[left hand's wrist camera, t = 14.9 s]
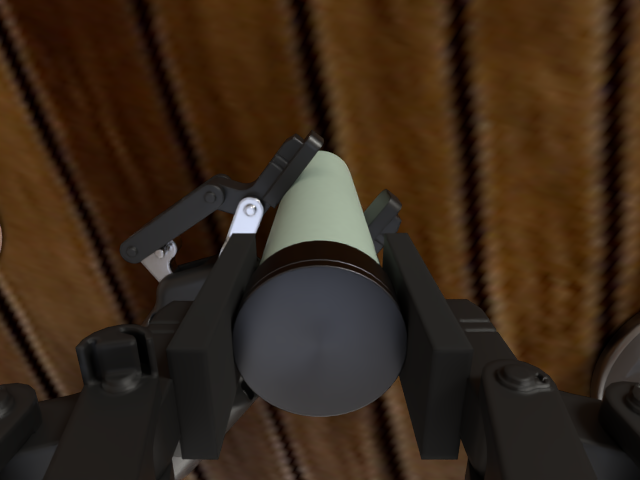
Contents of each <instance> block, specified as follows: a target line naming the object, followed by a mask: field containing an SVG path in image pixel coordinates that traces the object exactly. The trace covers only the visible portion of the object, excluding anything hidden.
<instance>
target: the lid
mask: <svg viewBox="0 0 640 480" xmlns="http://www.w3.org/2000/svg"><path fill="white" fill-rule="evenodd" d="M407 344H408V329H407V325H406V321H405V318H404V315H403V312H402V309H401V307H400V304H399V301H398V298H397V295H396V293H395V290H394V287H393V285H392V282H391V280H390V279H389V277H388V275H387V274H386V272H385V271H384V270H383V268H382V267H381V266H380V265H379V264H378V263H377V262H376V261H375V260H374V259H373V258H371V257H370V256H369V255H367V254H366V253H364V252H362V251H361V250H359V249H357V248H355V247H352V246H350V245H347V244H343V243H339V242H334V241H327V240H313V241H305V242H300V243H296V244H293V245H290V246H288V247H285V248H283V249H281V250H279V251H277V252H275V253H274V254H273V255H271V256H270V257H268V258H267V259H266V260H265V261H264V262H263V263H262V264H261V265H260V266H259V267H258V268H257V269H256V271H255V272H254V273H253V275H252V276H251V278H250V280H249V282H248V284H247V287H246V289H245V292H244V294H243V297H242V300H241V303H240V306H239V308H238V311H237V314H236V317H235V320H234V323H233V328H232V347H233V357H234V361H235V364H236V366H237V369H238V371H239V373H240V374H241V376H242V378H243V379H244V381H245V382H246V383H247V385H248V386H249V387H250V388H251V389H252V390H253V391H254V392H255V393H256V394H257V395H258V396H260V397H261V398H262V399H264V400H265V401H267V402H268V403H270V404H272V405H273V406H276V407H278V408H280V409H282V410H285V411H288V412H291V413H295V414H299V415H304V416H313V417H326V416H336V415H341V414H345V413H349V412H352V411H355V410H357V409H360V408H362V407H364V406H366V405H368V404H370V403H371V402H373V401H375V400H376V399H377V398H379V397H380V396H381V395H383V394H384V393H385V392H386V391H387V390H388V389H389V388H390V387H391V385H392V384H393V383H394V382H395V380H396V379H397V377H398V376H399V374H400V372H401V370H402V368H403V365H404V363H405V360H406V355H407Z"/></svg>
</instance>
